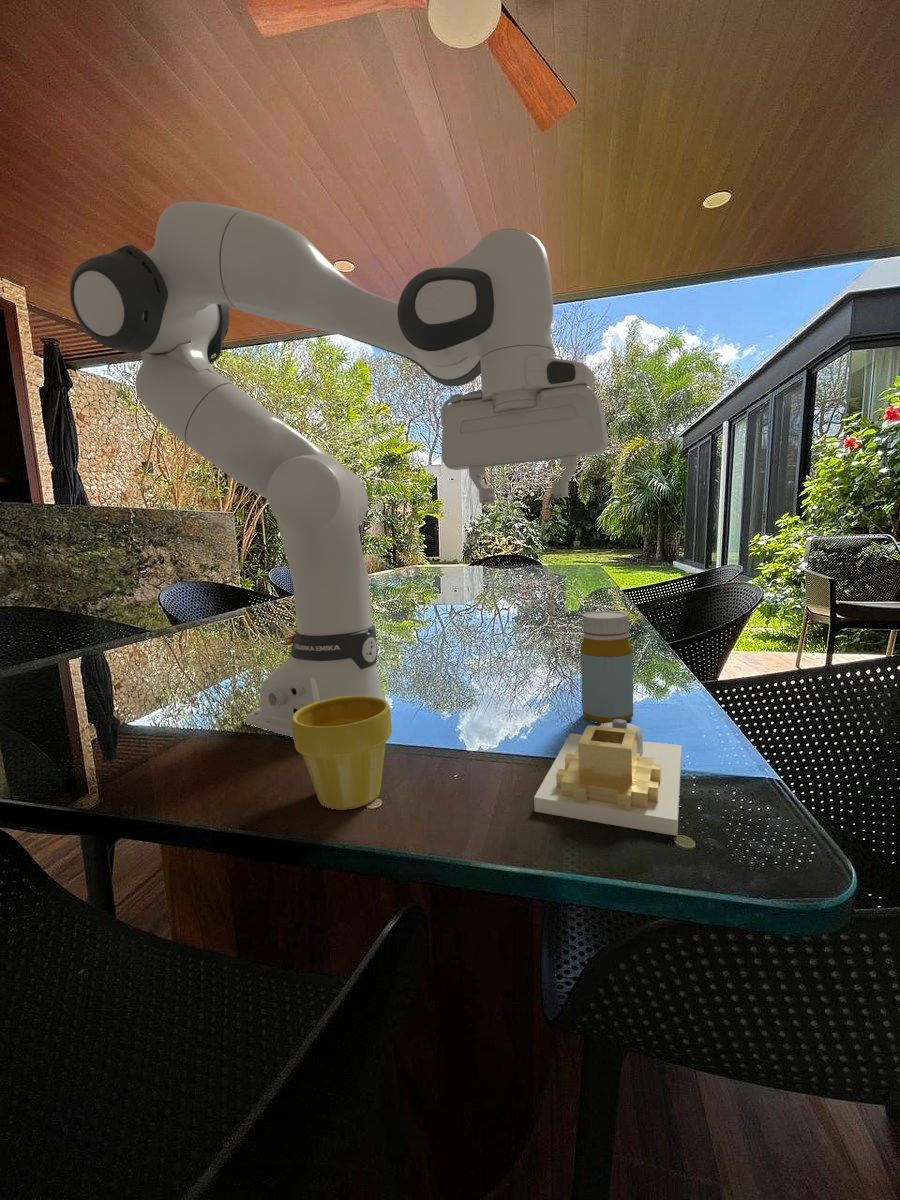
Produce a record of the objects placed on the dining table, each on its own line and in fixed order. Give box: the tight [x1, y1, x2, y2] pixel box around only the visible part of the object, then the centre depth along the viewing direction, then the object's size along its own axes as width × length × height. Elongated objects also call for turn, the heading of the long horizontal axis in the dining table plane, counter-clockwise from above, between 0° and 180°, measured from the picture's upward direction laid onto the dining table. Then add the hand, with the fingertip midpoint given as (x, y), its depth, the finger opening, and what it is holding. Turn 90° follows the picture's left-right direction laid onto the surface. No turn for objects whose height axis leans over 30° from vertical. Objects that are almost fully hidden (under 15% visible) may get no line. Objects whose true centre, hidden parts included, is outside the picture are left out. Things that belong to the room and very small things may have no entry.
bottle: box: [580, 610, 634, 724], centre depth 76 cm, size 7×7×15 cm
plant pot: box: [292, 696, 392, 811], centre depth 58 cm, size 10×10×10 cm
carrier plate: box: [533, 719, 683, 837], centre depth 58 cm, size 13×17×5 cm
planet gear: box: [556, 724, 661, 811], centre depth 54 cm, size 10×10×5 cm
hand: (523, 500), depth 66 cm, fingers open, 8 cm apart
